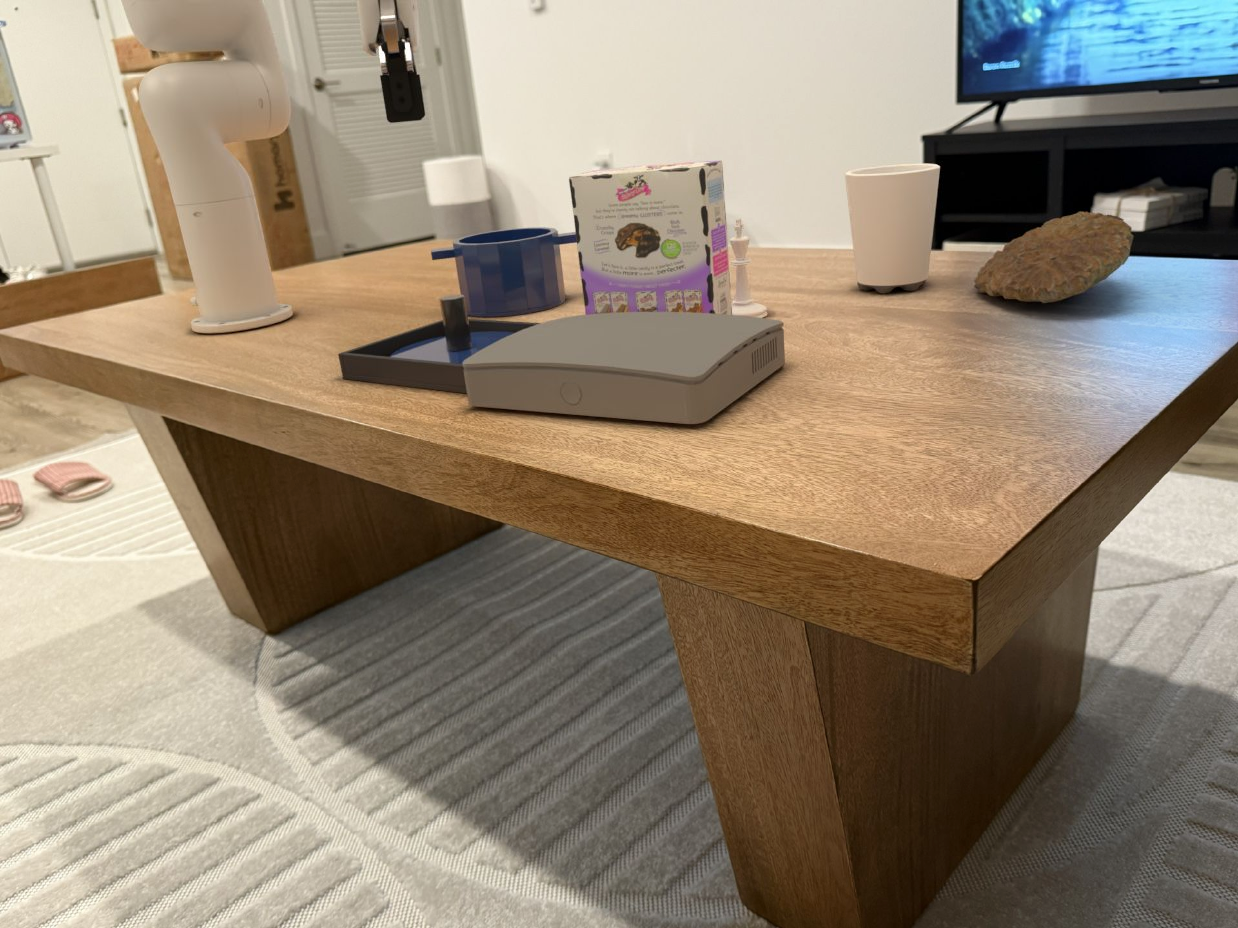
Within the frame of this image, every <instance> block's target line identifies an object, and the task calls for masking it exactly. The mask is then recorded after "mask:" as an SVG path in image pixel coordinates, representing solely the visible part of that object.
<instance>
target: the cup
mask: <svg viewBox="0 0 1238 928" xmlns="http://www.w3.org/2000/svg"><path fill="white" fill-rule="evenodd" d="M940 171H941V166H940V165H938V164H936V163H902V164H901V163H899V164H888V165H877V166H869V167H868V166H867V167H862V168H861V167H860V168H856V169H852V170H848V171H846V172H845V173H844V178H845V179H844V180H845V187H846V195H847V196H846V197H847V205H848V215H849V223H850V233H851V242H852V249H853V259H854V268H855V277H856V284H857V287H858V288H859V290H861V291H867V292H868V291H872V290H875V291H876V292H877V293H879V294H890V293H891V292H892V291H893V290H894V289H895V288H900V289H902V290H903V291H907V292H914V291H917V290H918V289H919V288H920V287H921V286H924V285H925V284H926V282H927V280H928V279H929V273H930V265H931V254H932V246H933V245H932V244H933V236H934V227H935V218H936V209H937V199H938V189H939V180H940Z"/></svg>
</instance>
